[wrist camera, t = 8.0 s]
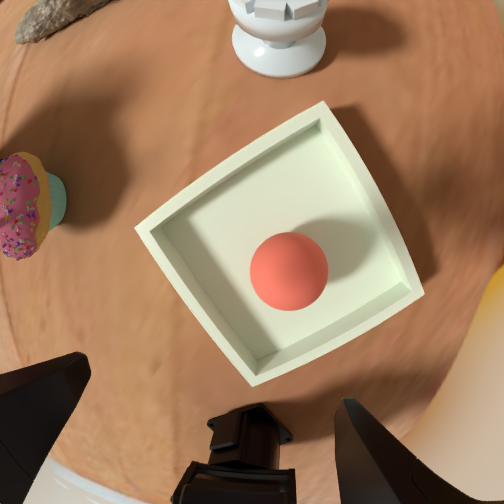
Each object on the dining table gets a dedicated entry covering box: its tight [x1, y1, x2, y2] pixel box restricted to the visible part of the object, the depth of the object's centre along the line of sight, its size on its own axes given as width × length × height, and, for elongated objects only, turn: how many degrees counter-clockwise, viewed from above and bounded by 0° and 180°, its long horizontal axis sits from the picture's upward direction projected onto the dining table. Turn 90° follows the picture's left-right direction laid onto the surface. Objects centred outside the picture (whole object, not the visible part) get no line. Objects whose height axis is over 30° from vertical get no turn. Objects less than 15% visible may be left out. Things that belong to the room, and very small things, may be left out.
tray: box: [135, 101, 424, 387], centre depth 18 cm, size 14×14×3 cm
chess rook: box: [228, 0, 328, 79], centre depth 12 cm, size 6×6×8 cm
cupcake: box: [0, 152, 67, 260], centre depth 14 cm, size 9×8×12 cm
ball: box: [250, 232, 328, 311], centre depth 16 cm, size 5×5×5 cm
